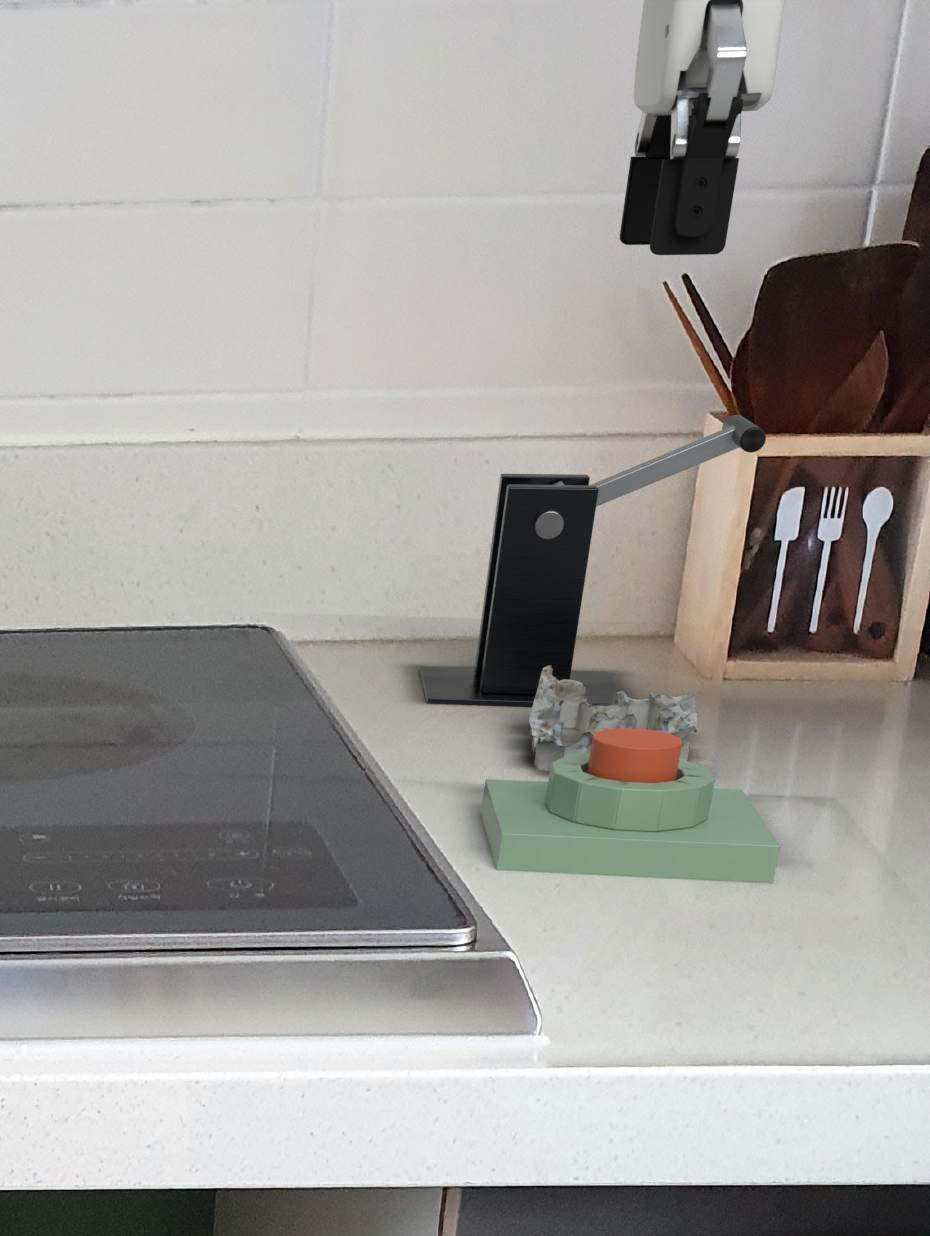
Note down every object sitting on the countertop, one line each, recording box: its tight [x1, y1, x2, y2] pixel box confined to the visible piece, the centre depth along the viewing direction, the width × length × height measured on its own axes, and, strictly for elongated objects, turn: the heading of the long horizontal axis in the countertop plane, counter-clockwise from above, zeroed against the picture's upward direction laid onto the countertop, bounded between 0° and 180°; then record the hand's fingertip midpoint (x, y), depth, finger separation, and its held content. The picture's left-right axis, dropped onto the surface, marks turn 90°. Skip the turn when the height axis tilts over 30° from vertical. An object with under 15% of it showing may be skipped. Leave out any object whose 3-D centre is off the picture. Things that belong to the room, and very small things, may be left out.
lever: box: [552, 414, 767, 508], centre depth 117 cm, size 12×6×2 cm, turn 77°
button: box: [587, 728, 682, 783], centre depth 98 cm, size 4×4×2 cm
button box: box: [480, 753, 781, 884], centre depth 99 cm, size 11×9×4 cm
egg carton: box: [528, 665, 698, 772], centre depth 110 cm, size 11×8×4 cm
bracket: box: [419, 473, 620, 708], centre depth 121 cm, size 10×8×12 cm
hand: (668, 248), depth 109 cm, fingers open, 9 cm apart
